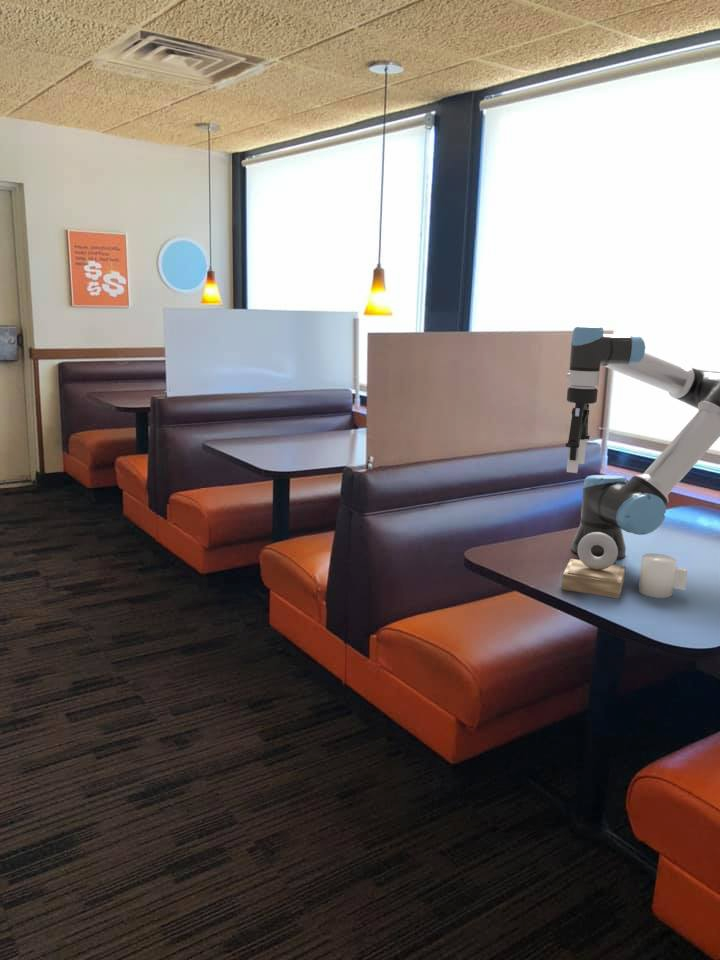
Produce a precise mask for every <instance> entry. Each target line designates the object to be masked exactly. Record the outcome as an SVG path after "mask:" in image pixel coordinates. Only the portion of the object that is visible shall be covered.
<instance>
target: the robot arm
mask: <svg viewBox="0 0 720 960" xmlns="http://www.w3.org/2000/svg"><path fill="white" fill-rule="evenodd" d="M645 349H646V342H645V340H644V339H643V337H641V336H639V335H636V334H635V335H633V334H616V333H615V334H612V333H604V328H603V327H602V326H587V325H586V326H585V325H584V326H583V325H578V326H575V327H574V328H573V331H572V337H571V342H570V358H569V371H568V372H567V373H566V377H567V378H568V383H567V384H568V386H569V387H568V388H567V393H566V401H567V402H569V403H574V404H575V406H574V407H572V409H571V419H570V428H569V434H568V440H567V443H565V447H566V448H567V449H568V450H567V459H566V461H567V462H566V473H570V474H571V473H573V474H578V472H579V464H581V465H584V464H585V463H586V461H585V459H586V450H587V440H590V435H589V433H588V432H589V416H590V404H595V403H597V401H598V388H597V387H598V386H599V384H600V375H601V374H600V373H601V369H600V368H601V366H602V367H605V368H606V369H607V368H608V369H610V370H612V371H614V372H618V373H620V374H623V375H625V376H627V377H630V378H633V379H636V380H637V381H640V382H642V383H644V384H648V385H651V386H653V387H656V388H659V389H661V390H663V391H666V392H668V394H669V395H670V397H672V398H673V399H675V400H679V401H681V402H683V403H684V404H687V405H690V406H691V407H694V408H696V409H698V412H697V413H696V414H695V415H694V416H693V418H691V420H690V421H689V422H688V423H687V424H686V425H685V426H684V427H683V429H682V430H681V431H680V432H678V434H677V435H676V436H675V437H674V438H673V439H672V441H671V442H669V444H668V445H667V446H666V448H665V449H664V450H663V451H662V452H661V453H660V454H659V455H658V456H657V458H656V459H654V461H653V462H652V463H651V464H650V465H649V466H648V468H647V469H646V470H645V471H644V472H643V473H642V474H634V475H633V476H632V477H631V478H630V479H629V480H628V481H627V477H626V476H623V475H614V474H597V475H596V474H595V475H593V474H592V475H588V476H586V477H585V479H584V482H583V487H582V501H581V510H580V523H579V526H578V528H577V531H576V533H575V534H574V537H573V540H572V543H571V551H573V553H575V554H577V555H578V549H577V548H578V544H579V542H580V540H581V539H582V538H583V537H584V536H585V535H587V534H589V533H592V532H601V533H605V534H607V535H608V536H610V537H611V538H612V539H613V540H614V541H615V543H616V545H617V548H618V555H617V559H616V560H618V559H622V558H624V557H625V556H626V550H627V548H626V543H625V538H624V534H623V531H624V532H626V533H630V534H634V535H638V536H641V535H649V534H651V533H653V532H654V531H656V530H657V529H658V528H660V526H661V525H662V524H663V522H664V521H665V518H666V516H665V514H666V513H667V507H666V506H667V505H668V504H669V502H670V501H669V494H670V493H671V492H672V491H673V490H674V488H676V486H677V485H678V484H679V483H680V482H681V480H682V479H684V477H685V476H686V475H687V474H688V473H689V472H690V471H691V470H692V469H693V467H694V466H695V465H696V464H697V463H698V462H699V461H700V460H701V458H703V456H704V455H705V454H706V452H707V451H708V450H709V449H710V448H712V446H713V444H714V443H716V441H718V439H719V438H720V371H712V370H711V371H709V370H702V369H697V368H694V367H691V366H689V365H683V366H679V365H676V364H674V363H671V362H668V361H666V360H663V359H661V358H658V357H656V356H654V355H652V354H648V353H647V352H646V350H645ZM591 553H592V554H593V555H594V556H596V557H600V556H602V555H603V554H604V549H603V548H602V547H601V546H599V545H594V546H593V547H592V548H591Z"/></svg>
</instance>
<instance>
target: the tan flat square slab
mask: <svg viewBox="0 0 720 960" xmlns="http://www.w3.org/2000/svg"><path fill="white" fill-rule="evenodd" d="M625 574H626V566H624V565H619V564H618V565H617V564H613V565H611V566H610V567H608V568H606V569H603V570H595V569H591V568H589V567H587V566H586V565H584V564H583V563H582V561H581V560H580V559H576V558H570V560H569V562H568V563H567V565H566V567H565V569H564V571H563V573H562V578H561V579H562V580H561V590H563V591H571V592H578V593H584V594H590V595H596V596H602V597H609V598H615V599H620V597H621V592H622V589H623V585H624V582H625Z"/></svg>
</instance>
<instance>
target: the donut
mask: <svg viewBox="0 0 720 960" xmlns="http://www.w3.org/2000/svg"><path fill="white" fill-rule="evenodd" d="M594 545H599V546H601V547H602V548H603V549H604V554H603V555H602V556H600V557H596V556H594V555H593V554H592V553H591V548H592V547H593V546H594ZM577 549H578V554H577V556H578V558H579V560H581V561H582V563H583V564H584V565H586V566H587V567H589V568H591V569H595V570H603V569H606V568H608V567H610V566H611V565H614V563H615V562H616V561H617V560H618V559H617V555H618V548H617V545H616V543H615V541H614V540H613V539H612V538H611V537H610V536H608V535H607V534H605V533H601V532H592V533H589V534H587V535H585V536H584V537H583V538H582V539H581V540H580V542H579V544H578V548H577Z"/></svg>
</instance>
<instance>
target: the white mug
mask: <svg viewBox="0 0 720 960" xmlns="http://www.w3.org/2000/svg"><path fill="white" fill-rule="evenodd" d="M676 566H677V559H676V558H674V557H672V556H670V555H668V554H662V553H655V552H654V553H645V554H643V555H642V557H641V565H640V573H639V583H638V592H639V593H641V594H642V595H644V596H647V597H651V598H657V599H667V598H666V597H668V598H670V596H671V597H672V596H673V591H674V589H675V590H676V589H677V590H682V591H686V587H687V586H686V585H687V579H688V569H687V568H686V569H685V568H680V567H679V568H678V567H676Z"/></svg>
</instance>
